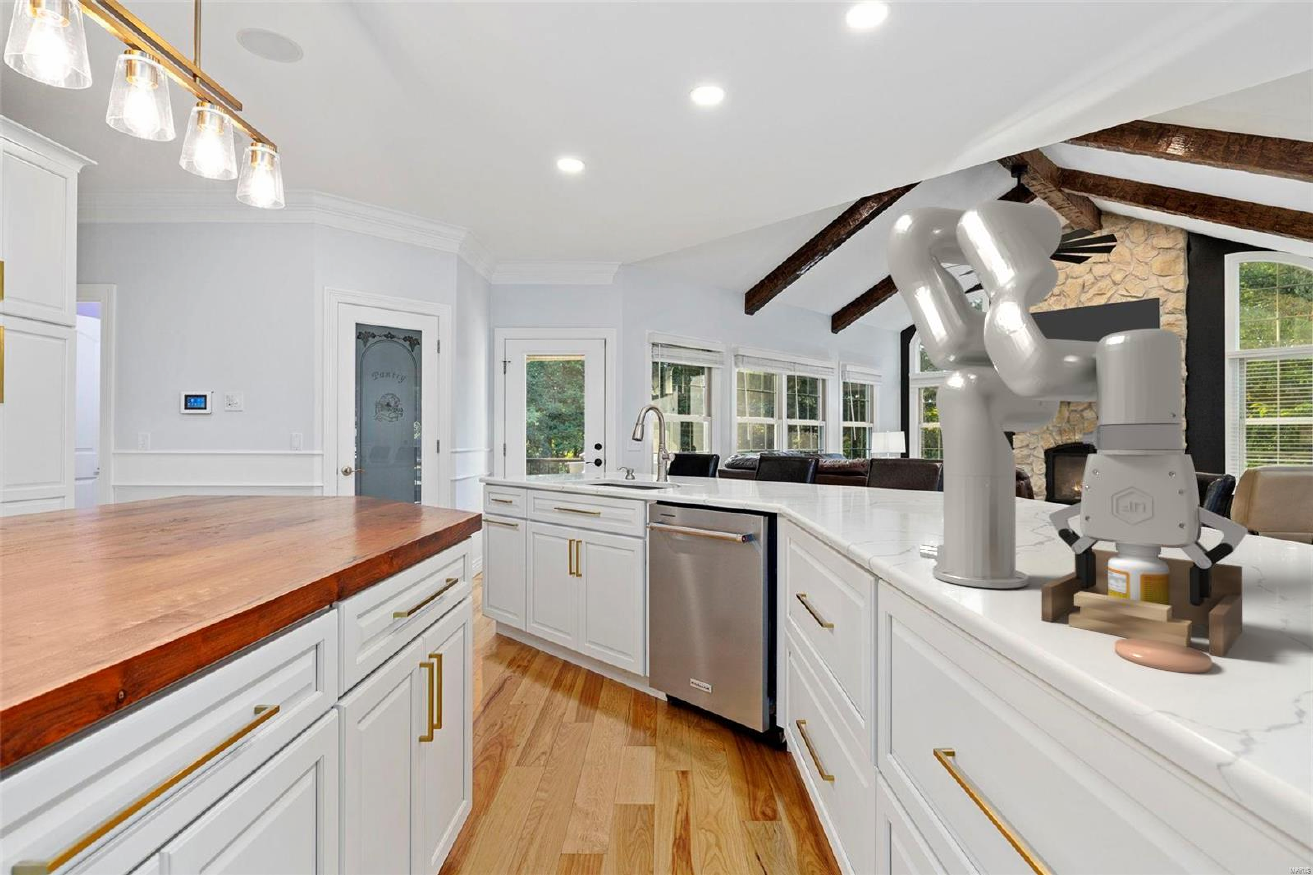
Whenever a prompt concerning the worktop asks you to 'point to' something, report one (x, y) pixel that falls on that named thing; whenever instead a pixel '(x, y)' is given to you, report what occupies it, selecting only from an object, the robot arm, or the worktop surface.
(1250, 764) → the worktop surface
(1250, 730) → the worktop surface
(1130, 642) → the terracotta coaster
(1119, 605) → the frame
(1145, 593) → the supplement bottle
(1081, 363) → the robot arm
